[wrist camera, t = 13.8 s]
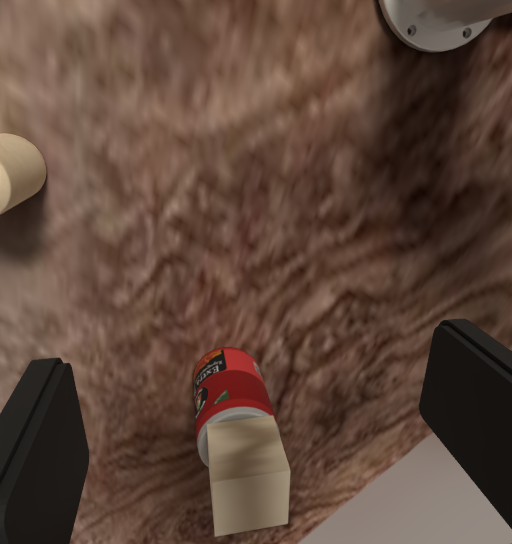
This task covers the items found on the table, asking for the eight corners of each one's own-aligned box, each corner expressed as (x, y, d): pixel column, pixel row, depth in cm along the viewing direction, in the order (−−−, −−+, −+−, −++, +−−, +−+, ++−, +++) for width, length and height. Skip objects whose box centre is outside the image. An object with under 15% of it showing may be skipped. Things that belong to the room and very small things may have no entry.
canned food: (210, 335, 44) (220, 401, 34) (270, 358, 47) (296, 425, 37) (181, 388, 46) (182, 465, 36) (240, 407, 49) (257, 483, 39)
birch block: (273, 415, 36) (290, 470, 30) (271, 464, 38) (287, 523, 32) (206, 424, 35) (212, 482, 29) (209, 473, 37) (215, 536, 31)
